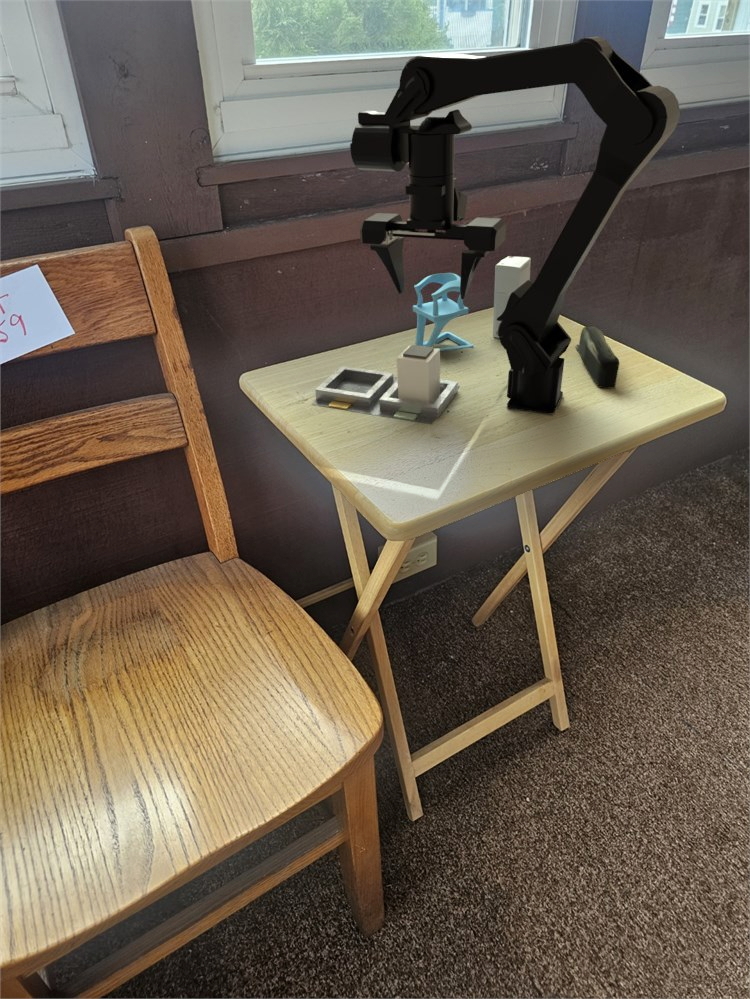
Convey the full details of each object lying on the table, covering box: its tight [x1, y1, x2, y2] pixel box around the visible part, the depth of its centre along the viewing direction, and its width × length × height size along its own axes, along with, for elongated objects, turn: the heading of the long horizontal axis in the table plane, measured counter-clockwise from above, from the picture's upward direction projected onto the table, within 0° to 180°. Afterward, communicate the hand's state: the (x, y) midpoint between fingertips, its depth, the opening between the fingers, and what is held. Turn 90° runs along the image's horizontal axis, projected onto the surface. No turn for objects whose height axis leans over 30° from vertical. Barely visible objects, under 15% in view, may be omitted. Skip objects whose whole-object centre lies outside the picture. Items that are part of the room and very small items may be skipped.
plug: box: [396, 344, 441, 404], centre depth 92 cm, size 5×4×7 cm
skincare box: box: [492, 255, 532, 339], centre depth 111 cm, size 6×4×12 cm
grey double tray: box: [311, 365, 461, 425], centre depth 96 cm, size 18×12×2 cm, turn 66°
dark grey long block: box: [574, 325, 620, 389], centre depth 101 cm, size 5×3×15 cm
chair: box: [412, 272, 474, 352], centre depth 107 cm, size 8×8×12 cm
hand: (431, 295), depth 94 cm, fingers open, 9 cm apart
